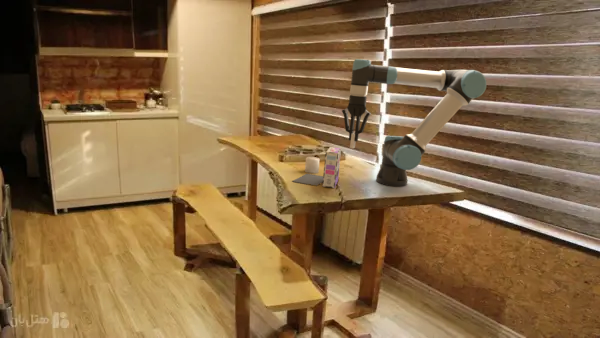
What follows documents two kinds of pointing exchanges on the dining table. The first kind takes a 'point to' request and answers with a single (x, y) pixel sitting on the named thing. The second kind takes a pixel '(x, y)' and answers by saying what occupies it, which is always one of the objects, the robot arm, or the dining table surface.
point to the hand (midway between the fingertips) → (352, 147)
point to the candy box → (331, 167)
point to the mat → (309, 179)
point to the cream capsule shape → (312, 165)
